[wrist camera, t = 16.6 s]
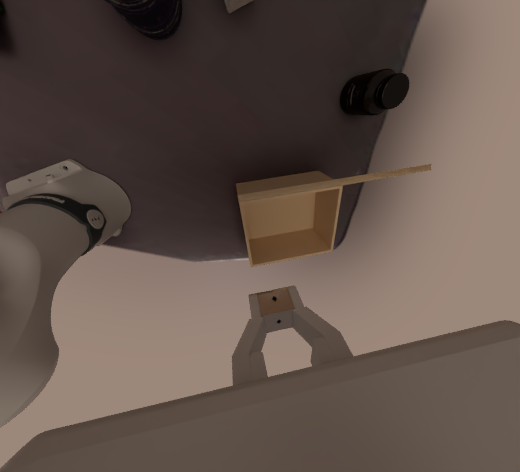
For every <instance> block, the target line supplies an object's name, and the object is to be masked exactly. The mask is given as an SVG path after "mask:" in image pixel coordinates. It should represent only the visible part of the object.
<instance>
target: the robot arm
mask: <svg viewBox="0 0 520 472" xmlns="http://www.w3.org/2000/svg"><path fill="white" fill-rule="evenodd" d="M65 166H66V167H67V168H68V169H66V168H65ZM6 188H7V192H8V194H9V196H6V197H4V198H3V199H2V205H3V208H4V210H5V212H1V211H0V427H2V426H3V425H5V424H6V423H8V422H9V421H10V420H12V419H13V418H14V417H16V416H17V415H18V414H19V413H21V412H22V411H23V410H24V409H25V408H26V407H27V406H28V405H29V404H30V403H31V402H32V401H33V400H34V399H35V398H36V397H37V396H38V395H39V394H40V392H41V391H42V390H43V389H44V387H45V386H46V384H47V383H48V381H49V380H50V378H51V376H52V374H53V372H54V370H55V368H56V365H57V361H58V356H59V348H58V345H57V343H56V341H55V339H54V336H53V332H52V327H51V305H52V299H53V295H54V292H55V289H56V287H57V284H58V282H59V281H60V279H61V278H62V276H63V275H64V274H65V273H66V271H67V270H68V269H69V268H70V267H71V266H72V264H73V263H74V262H75V261H76V260H77V259H78V258H79V257H80V256H82V255H84V254H86V253H87V252H88V251H90V250H91V249H93V248H94V247H95V246H100V245H101V244H103V243H104V242H105V241H106V240H107V239H109V238H110V237H111V236H118V235H119V234H120V233H121V231H122V226H123V224H124V223H125V222H126V221H127V220H128V218H129V216H130V214H131V204H130V201H129V199H128V197H127V195H126V193H125V192H124V191H123V190H122V188H121V187H120V186H119V185H117V184H116V183H115V182H114V181H112V180H111V179H109V178H107V177H106V176H104V175H101V174H99V173H96V172H93V171H91V170H89V169H87V168H85V167H84V166H83V165H81V164H80V163H78V162H76V161H75V160H72V159H67V160H64V161H62V162H59V163H57V164H54V165H51V166H49V167H46V168H43V169H41V170H38V171H35V172H33V173H30V174H28V175H25V176H22V177H20V178H17V179H14V180H12V181H10V182H8V183H6ZM249 302H250V310H251V317H252V319H249V321H248V323H247V326H246V328H245V330H244V332H243V334H242V337H241V338H240V341H239V343H238V345H237V347H236V349H235V351H234V354H233V356H232V370H233V386H230V387H226V388H222V389H218V390H213V391H210V392H206V393H201V394H197V395H193V396H189V397H185V398H181V399H177V400H173V401H168V402H164V403H160V404H156V405H152V406H147V407H143V408H139V409H135V410H131V411H127V412H123V413H119V414H115V415H111V416H106V417H102V418H98V419H95V420H90V421H86V422H82V423H78V424H74V425H70V426H65V427H61V428H57V429H52V430H49V431H45V432H43V433H40V434H38V435H37V436H35V437H34V438H33V439H31V440H30V441H29V442H28V443H27V444H26V445H25V446H23V447H22V448H21V449H20V450H19V451H18V452H17V453H16V454H15V455H14V456H13V457H12V458H11V459H10V460H9V461H8V462H7V463H5V464H4V465H3V466H2V467H1V468H0V472H520V324H518V323H516V322H512V321H506V320H505V321H498V322H494V323H490V324H486V325H482V326H477V327H473V328H469V329H465V330H461V331H457V332H453V333H448V334H444V335H440V336H436V337H432V338H428V339H424V340H420V341H415V342H411V343H407V344H403V345H399V346H395V347H391V348H387V349H383V350H378V351H374V352H370V353H366V354H362V355H358V356H354V357H353V355H352V353H351V351H350V349H349V347H348V346H347V344H346V342H345V340H344V338H343V336H342V335H341V333H340V331H338V330H337V329H336V328H334V327H333V326H331V325H330V324H329V323H327V322H326V321H325V320H323V319H322V318H321V317H319V316H318V315H317V314H315V313H314V312H313V311H311V310H310V309H309V308H307V307H304V305H303V303H302V301H301V298H300V296H299V294H298V291H297V289H296V287H295V286H289V287H284V288H279V289H275V290H272V291H266V292H261V293H255V294H251V295H249ZM291 327H293V328H294V329H295V330H296V331H297V332H298V333H299V334H300V335H301V336H302V337H303V338H304V339H305V340H306V341H307V342H308V343H309V345H310V346H311V347H312V355H311V364H312V367H308V368H304V369H300V370H296V371H292V372H287V373H283V374H279V375H275V376H271V377H268V376H267V371H266V366H265V362H264V357H263V353H262V352H261V350H262V347H263V344H264V341H265V338H266V333H269V332H272V331H277V330H281V329H286V328H291Z"/></svg>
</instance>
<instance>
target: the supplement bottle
mask: <svg viewBox="0 0 520 472" xmlns="http://www.w3.org/2000/svg"><path fill="white" fill-rule="evenodd" d="M408 89H409V79H408V77H407V76H406V75H405V74H403V73H398V74H396V72H395V71H393V70H391V69H382V70H378V71H374V72H370V73H366V74H362V75H358V76H355V77H353V78H352V79H350V80H349V81H348V82H347V84H346V85H345V87H344V89H343V91H342V94H341V107H342V109H343V110H344V112H346V113H347V114H352V115H378V114H381V113H383V112H384V111H386V110H387V109H392V108H395V107H397V106H398V105H399V104H400V103H401V102H402V101H403V100H404V98H405V97H406V95H407V92H408Z"/></svg>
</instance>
